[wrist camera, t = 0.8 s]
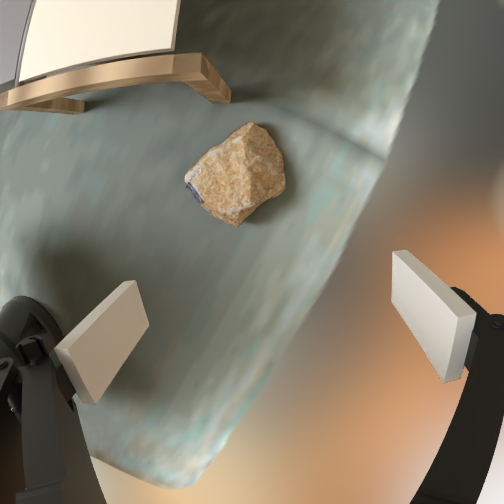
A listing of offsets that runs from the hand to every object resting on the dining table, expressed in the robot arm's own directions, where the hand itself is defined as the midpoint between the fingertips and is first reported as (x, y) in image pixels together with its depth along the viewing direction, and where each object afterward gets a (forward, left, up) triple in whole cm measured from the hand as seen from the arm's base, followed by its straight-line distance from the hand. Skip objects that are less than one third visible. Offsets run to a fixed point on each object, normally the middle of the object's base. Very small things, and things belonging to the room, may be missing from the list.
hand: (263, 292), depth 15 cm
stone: (-4, +4, -21) cm, 22 cm away
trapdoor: (-19, +21, -12) cm, 31 cm away
